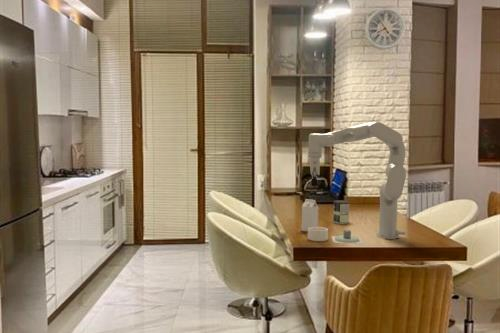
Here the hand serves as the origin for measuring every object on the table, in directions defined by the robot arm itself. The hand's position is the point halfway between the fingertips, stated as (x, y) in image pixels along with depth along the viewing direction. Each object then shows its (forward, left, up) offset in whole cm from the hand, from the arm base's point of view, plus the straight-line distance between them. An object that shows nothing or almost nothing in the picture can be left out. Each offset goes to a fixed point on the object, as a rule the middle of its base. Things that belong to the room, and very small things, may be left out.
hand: (314, 185), depth 281 cm
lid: (-18, +11, -29) cm, 36 cm away
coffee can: (-19, -43, -29) cm, 55 cm away
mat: (-18, +11, -29) cm, 36 cm away
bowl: (-2, +11, -29) cm, 31 cm away
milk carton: (+2, -12, -29) cm, 32 cm away
